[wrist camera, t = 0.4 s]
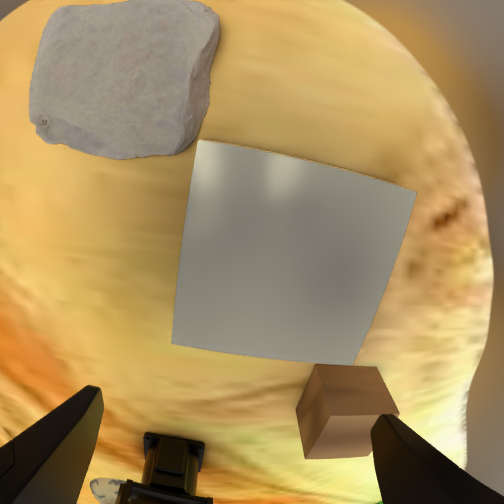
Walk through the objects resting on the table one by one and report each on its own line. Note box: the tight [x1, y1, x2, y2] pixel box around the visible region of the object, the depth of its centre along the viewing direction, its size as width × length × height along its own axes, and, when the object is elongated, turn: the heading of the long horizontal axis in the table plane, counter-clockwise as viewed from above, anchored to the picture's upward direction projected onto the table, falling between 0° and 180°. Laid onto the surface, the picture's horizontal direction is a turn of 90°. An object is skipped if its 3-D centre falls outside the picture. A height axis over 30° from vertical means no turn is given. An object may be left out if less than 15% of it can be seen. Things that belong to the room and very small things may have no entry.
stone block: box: [29, 0, 220, 160], centre depth 16 cm, size 12×5×10 cm
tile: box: [171, 139, 417, 365], centre depth 20 cm, size 13×13×3 cm
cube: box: [296, 364, 400, 459], centre depth 24 cm, size 6×6×6 cm
